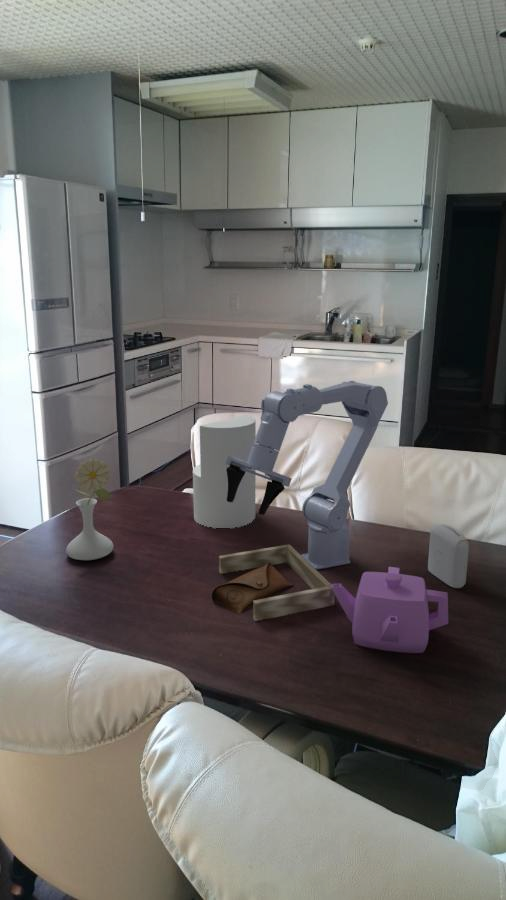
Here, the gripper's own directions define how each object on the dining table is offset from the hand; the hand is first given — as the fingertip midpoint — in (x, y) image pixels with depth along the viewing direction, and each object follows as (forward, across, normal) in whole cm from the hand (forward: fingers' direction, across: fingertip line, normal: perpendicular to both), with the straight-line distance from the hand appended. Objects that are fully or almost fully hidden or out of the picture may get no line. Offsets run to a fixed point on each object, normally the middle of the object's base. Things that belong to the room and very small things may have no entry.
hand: (245, 507), depth 136 cm
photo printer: (+1, +41, +27) cm, 50 cm away
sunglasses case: (+18, +6, +7) cm, 20 cm away
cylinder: (+9, -20, +41) cm, 47 cm away
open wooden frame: (+15, +9, +10) cm, 20 cm away
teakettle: (+13, +36, +1) cm, 38 cm away
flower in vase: (+26, -37, +9) cm, 46 cm away
